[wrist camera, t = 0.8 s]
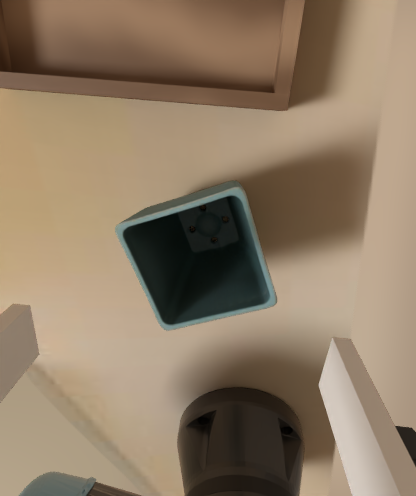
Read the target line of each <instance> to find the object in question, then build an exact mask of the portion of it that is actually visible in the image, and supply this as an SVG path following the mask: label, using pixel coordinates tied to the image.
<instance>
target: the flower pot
mask: <svg viewBox="0 0 416 496" xmlns="http://www.w3.org/2000/svg"><path fill="white" fill-rule="evenodd" d="M201 205H205V207H206V209H205V210H201V209H200V206H201ZM224 216H226V217H228V221H227V222H225V221H223V219H222V218H223V217H224ZM191 226H193V227H195V230H194V231H191V230H190V227H191ZM115 232H116V235H117V237H118V239H119V241H120V243H121V245H122V247H123V249H124V251H125V253H126V255H127V257H128V259H129V261H130V263H131V265H132V267H133V269H134V271H135V273H136V276H137V278H138V280H139V282H140V284H141V286H142V288H143V290H144V292H145V294H146V296H147V298H148V301H149V303H150V305H151V307H152V309H153V312H154V314H155V316H156V319H157V321H158V323H159V324H160V326H161V327H162V328H163V329H164V330H166V331H169V330H175V329H179V328H183V327H187V326H191V325H195V324H200V323H204V322H208V321H212V320H217V319H221V318H226V317H230V316H235V315H240V314H244V313H248V312H252V311H257V310H261V309H266V308H269V307H272V306H274V305H275V304H276V303H277V296H276V292H275V290H274V286H273V283H272V280H271V277H270V274H269V271H268V267H267V264H266V261H265V258H264V254H263V251H262V248H261V244H260V241H259V237H258V234H257V230H256V227H255V223H254V220H253V216H252V213H251V209H250V206H249V202H248V198H247V195H246V192H245V190H244V189H243V187H242V186H241V185H240V183H239V182H237V181H228V182H225V183H223V184H220V185H217V186H214V187H211V188H208V189H204V190H201V191H198V192H195V193H192V194H189V195H186V196H183V197H179V198H176V199H173V200H170V201H166V202H163V203H160V204H156V205H153V206H150V207H147V208H145V209H143V210H141V211H140V212H138V213H136V214H135V215H133V216H131V217H129V218H128V219H126V220H124V221H123V222H121V223H119V224H118V225H117V226H116V228H115ZM213 237H216V238H217V241H215V242H213V241H212V238H213Z"/></svg>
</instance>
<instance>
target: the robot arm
mask: <svg viewBox="0 0 416 496" xmlns="http://www.w3.org/2000/svg"><path fill="white" fill-rule="evenodd" d="M38 355H39V350H38V344H37V339H36V334H35V329H34V324H33V319H32V313H31V308H30V305H20V304H12V305H11V306H10V307H9V308H8V309H7V310H5V311H4V312H3V313H2V314H1V315H0V403H1V401H2V400H3V399H4V398H5V396H6V395H7V394H8V393H9V391H10V390H11V389H12V388H13V386H14V385H15V384H16V383H17V381H18V380H19V379H20V378H21V376H22V375H23V374H24V373H25V371H26V370H27V369H28V368H29V366H30V365H31V364H32V363H33V361H34V360H35V359H36V358H37V356H38ZM319 388H320V392H321V395H322V398H323V402H324V405H325V408H326V411H327V415H328V418H329V421H330V424H331V428H332V431H333V434H334V438H335V441H336V444H337V447H338V451H339V454H340V457H341V461H342V464H343V467H344V470H345V473H346V477H347V480H348V483H349V487H350V490H351V493H352V496H416V432H415V431H414V430H413V429H412V428H409V427H400V426H395V425H394V423H393V422H392V420H391V417H390V416H389V413H388V411H387V409H386V408H385V406H384V404H383V402H382V400H381V398H380V396H379V394H378V392H377V390H376V388H375V386H374V384H373V382H372V380H371V378H370V376H369V374H368V372H367V370H366V368H365V366H364V364H363V362H362V360H361V358H360V357H359V354H358V352H357V350H356V348H355V346H354V345H353V342H352V341H351V339H346V338H336V337H332V340H331V343H330V347H329V350H328V354H327V357H326V361H325V364H324V368H323V371H322V375H321V378H320V382H319ZM177 446H178V453H179V460H180V466H181V473H182V480H183V486H184V493H185V496H299V493H300V484H301V476H302V467H303V459H304V440H303V435H302V431H301V426H300V422H299V420H298V418H297V416H296V414H295V413H294V412H293V410H292V409H291V408H290V407H289V406H288V405H287V404H285V403H284V402H283V401H281V400H280V399H278V398H276V397H274V396H272V395H270V394H267V393H265V392H262V391H258V390H253V389H246V388H227V389H221V390H216V391H213V392H210V393H207V394H205V395H203V396H201V397H199V398H198V399H196V400H195V401H193V402H192V403H191V404H190V405H189V406H188V407H187V409H186V410H185V411H184V413H183V415H182V418H181V421H180V426H179V432H178V439H177ZM19 496H141V495H138V494H134V493H131V492H128V491H125V490H121V489H118V488H114V487H111V486H107V485H104V484H101V483H98V482H96V479H95V478H93V477H91V478H89V479H85V478H81V477H77V476H73V475H68V474H64V473H59V472H48V473H45V474H43V475H41V476H39V477H37V478H36V479H34V480H33V481H32V482H31V483H30V484H29V485H28V486H27V487H26V488H25V489H24V490H23V491H22V492H21V493H20V495H19Z"/></svg>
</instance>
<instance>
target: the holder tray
mask: <svg viewBox="0 0 416 496" xmlns="http://www.w3.org/2000/svg"><path fill="white" fill-rule="evenodd" d="M304 4H305V0H0V88H6V89H16V90H29V91H41V92H53V93H66V94H78V95H90V96H103V97H115V98H127V99H140V100H152V101H165V102H177V103H189V104H202V105H214V106H226V107H239V108H251V109H264V110H276V111H287V110H288V103H289V97H290V91H291V85H292V79H293V72H294V66H295V60H296V54H297V47H298V41H299V35H300V29H301V23H302V16H303V10H304Z"/></svg>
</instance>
